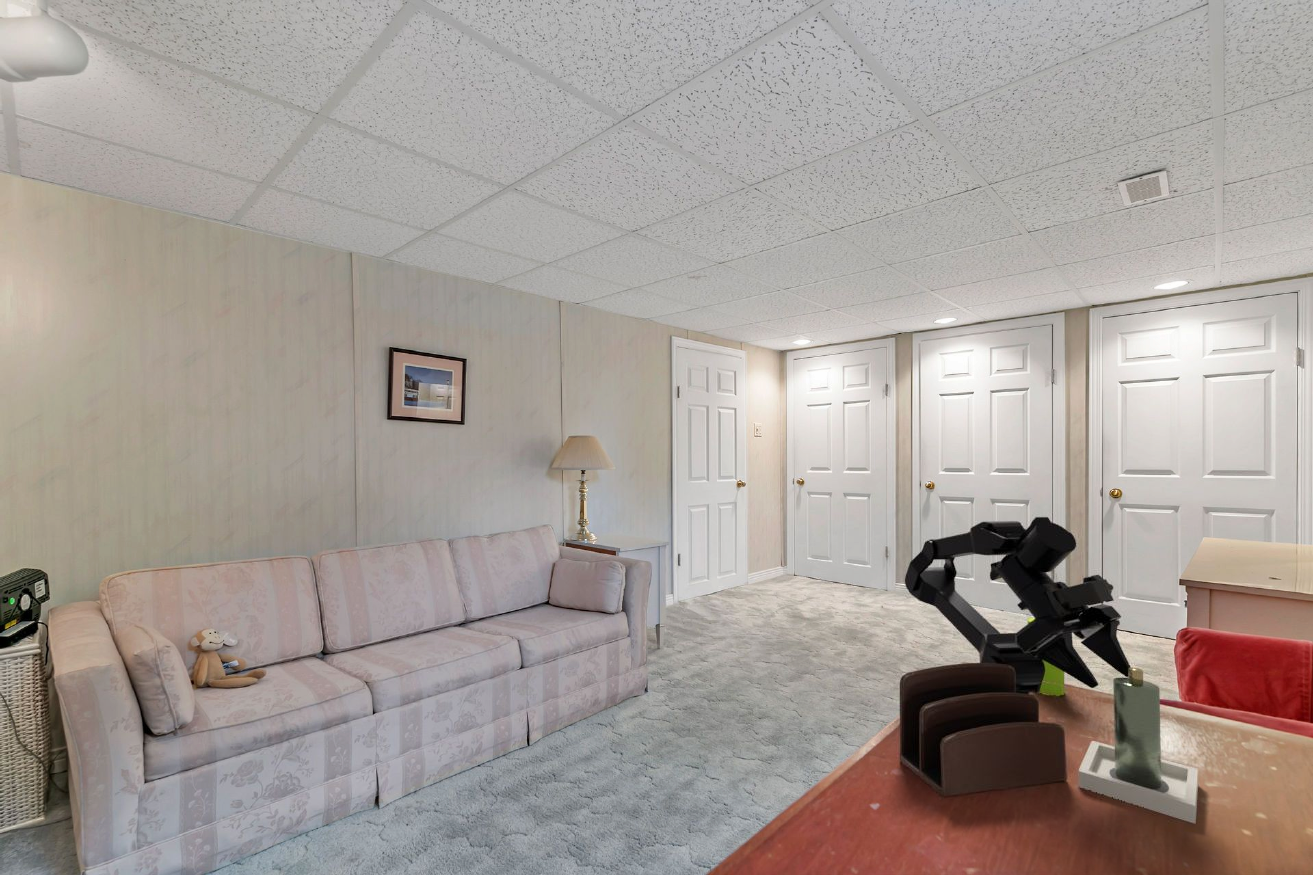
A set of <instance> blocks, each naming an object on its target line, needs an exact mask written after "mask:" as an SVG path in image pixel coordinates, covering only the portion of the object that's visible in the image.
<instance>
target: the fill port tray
mask: <svg viewBox="0 0 1313 875" xmlns="http://www.w3.org/2000/svg"><path fill="white" fill-rule="evenodd" d="M1077 773H1078V776H1077V777H1078V781H1077V782H1078V788H1080V789H1083V788H1084V789H1083V790H1086V791H1089V790H1091V791H1090V792H1093V793H1096V792H1097V794H1099V795H1102V794H1104V795H1103V796H1105V795H1106V796H1105V797H1109V798H1112V797H1113V798H1112V799H1115V800H1118V799H1119V800H1118V801H1121V800H1122V801H1121V802H1124V801H1125V803H1128V804H1131V803H1132V804H1131V805H1134V806H1137V805H1138V806H1137V807H1140V808H1143V807H1144V809H1146V810H1150V811H1153V812H1157V813H1160V814H1163V815H1166V816H1168V817H1169V816H1170V817H1172V818H1175V819H1180V820H1182V821H1185V822H1188V823H1191V824H1195V825H1196V823H1197V822H1196V820H1197V811H1198V810H1197V808H1198V807H1197V806H1198V796H1199V795H1198V792H1199V769H1198V768H1196V767H1192V766H1187V765H1184V764H1180V763H1177V762H1173V761H1169V760H1165V759H1163V758H1161V788H1159V789H1148V788H1145V787H1142V786H1138V785H1135V784H1131V783H1128V782H1125V781H1122V780H1120V779H1119V778H1118V777H1117V776H1116V775H1115V745H1110V744H1107V743H1102V742H1100V741H1099V742H1098V741H1094V740H1091V741H1090V745H1089V746H1088V749H1087V751H1086V753H1085V755H1084V758H1083V759H1082V761H1081V764H1080V766H1079V769H1078V772H1077Z"/></svg>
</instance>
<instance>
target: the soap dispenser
mask: <svg viewBox="0 0 1313 875" xmlns="http://www.w3.org/2000/svg"><path fill="white" fill-rule="evenodd" d="M1034 619H1035V618H1034V617H1031V618H1028V619H1027V624H1029V623H1030V622H1031V621H1033V620H1034ZM1035 651H1036V650H1035ZM1043 662H1044V665H1045V675H1044V678H1043V681H1045V682H1042V684H1041V688H1040V691H1039V692H1040V693H1046V694H1049V695H1056V696H1055V697H1061V696H1060V695H1062V696H1063V695H1065V672H1064V671H1062V670H1060V669H1059V668H1057V667H1055V666H1053V665H1051V664H1049V663H1048V662H1046V661H1044V660H1043ZM1046 682H1050V683H1046ZM1052 683H1056V684H1052ZM1057 684H1061V685H1064V686H1060V685H1057ZM1040 693H1039V694H1040ZM1049 695H1048V696H1049Z"/></svg>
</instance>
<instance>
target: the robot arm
mask: <svg viewBox="0 0 1313 875" xmlns="http://www.w3.org/2000/svg"><path fill="white" fill-rule="evenodd" d="M1076 548H1077V540H1076V537H1075V536H1074V535H1073V533H1071V532H1070V531H1068V530H1067V529H1066V528H1064V527H1063V526H1061V525H1059V524H1058V523H1054V522H1053V521H1051V520H1050V518H1049V517H1048V516H1035V517H1034V518H1033V520H1032V521H1031V523H1030V525H1029V526H1028V527H1027V528H1024V526H1023V525H1022V523H1021V522H1020V521H1018V520H1014V521H1013V520H1011V521H1010V520H1009V521H1008V520H1006V521H1005V520H1003V521H1002V520H998V521H981V522H979V523H977V524H975V525H973V526H972V527H970V530H969V531H968V532H965V533H962V534H961V533H960V534H955V535H950V536H945V537H941V538H932V539H928V540H926V541H925V542H924V543H923V546H922V549H921V551H920V552H919V553H918V554H917V555H916V556H914V557H913V559H912V560H911V561H910V562H909V565H908V567H907V570H906V574H905V575H904V576H905V577H904V585H905V588H906V589H907V591H908V593H909V594H910V595H911V596H912V597H914V598H915V599H917V600H918V601H919V602H922V603H924V604H927V605H930V606H933V607H935V608H936V609H937V610H938V611H939V612H940V613H941V614H942V615H943V616H944V618H946V619H947V620H948V622H950V624H952V626H953V627H954V628H955V629H956V630H957V631H958V632H959V633H960V634H961V635H962V636H963V637H964V638H965V639H966V640H967V641H968V643H970V645H972V646H973V648H974V649H975V650H976V651H977V652H978V653H979V663H996V664H1006V665H1010V666H1012V667H1013V668H1014V669H1015V673H1016V690H1015V692H1016V693H1021V694H1030V693H1035V694H1040V693H1039V691H1040V688H1041V684H1042V681H1043V678H1044V675H1045V665H1044V662H1043V660H1044V661H1046V662H1048V663H1049V664H1051V665H1053V666H1055V667H1057V668H1059V669H1060V670H1062V671H1064V674H1065V673H1066V674H1067V675H1069V676H1070V677H1072V678H1074V679H1075V680H1077V681H1079V682H1081V683H1082V684H1084V685H1086V686H1087V687H1089V688H1091V689H1094V688H1096V687H1098V686H1099V682H1098V680H1097V679H1096V677H1095V676H1094V674H1093V672H1092V671H1091V669H1090V668H1089V667H1088V666H1087V663H1085V661H1084V660H1083V659H1082V657H1081V656H1080V654H1079V653H1078V652H1077V650H1076V649H1075V647H1074V643H1073V635H1074V636H1075V637H1076V638H1078V639H1080V640H1082V641H1080V643H1081V644H1082V645H1083V646H1084V647H1086V648H1087V649H1088V650H1090V652H1092V653H1093V654H1095V655H1096V656H1098V658H1100V659H1101V660H1102V661H1104V662H1106V663H1107V664H1108V665H1109V666H1110V667H1112V668H1113V669H1114V670H1116V671H1117V673H1118V672H1119V673H1120V674H1121V675H1123V676H1124V677H1125V678H1129V675H1128V668H1132V667H1131V665H1130V663H1129V660H1128V659H1127V657H1126V655H1125V652H1124V651H1123V649H1122V648H1123V647H1122V646H1121V644H1120V642H1119V639H1118V637H1117V632H1118V627H1119V626H1120V624H1121V622H1120V619H1121V618H1122V616H1121V614H1120V613H1119V612H1118V610H1116V608H1115V607H1113V605H1108V604H1103V603H1109V602H1114V601H1115V600H1114V598H1113V595H1112V592H1113V590H1114V586H1113V584H1110V583H1109V582H1108V580H1107V579H1104V578H1103V577H1102V576H1101V575H1100V574H1094V575H1091V576H1087V577H1083V580H1082V583H1079V584H1076V585H1072V586H1068V585H1067V584H1066V583H1065V582H1064V581H1063V582H1062V581H1054V580H1053V579H1052V578H1051V577H1050V576H1049V575H1048V573H1051V572H1052V571H1054V570H1055V569H1057V567H1058V566H1060V564H1061V563H1063V561H1064V560H1065V559H1066V558H1067V557H1068V556H1069V555H1070V554H1071V553H1072V552H1073V551H1074V550H1075V549H1076ZM973 555H980V556H981V555H982V556H1003V557H1002V559H1001V560H999V561H996V562H992V563H990V572H989V580H991V581H997V580H999V579H1002V580H1003V581H1004V582H1005V584H1007V586H1008V587H1009V589H1010V590H1011V591H1012V592H1013V593H1014V594H1015V596H1016V597H1017V598H1018V599H1019V603H1017V607H1018V609H1020V610H1021V611H1025V610H1027V611H1029V613H1030V614H1031V615H1032V616H1033V618H1035V619H1034V620H1033V621H1031V622H1030V623H1029V624H1028V623H1027V624H1026V625H1025V626H1023V627H1022V628H1020V630H1018V631H1017V632H1008V633H1007V632H1005V633H1003V632H1000V631H998V629H996V628H995V626H993V624H991V623H990V622H989V621H988V620H987V619H986V618H985V617H984V616H983V615H981V614H980V612H979V611H977V610H976V609H975V608H974V607H973V606H972V605H971V604H970V603H969V602H968V601H967V600H966V599H964V598H963V596H961V595H960V594H959V593H958V591H957V590H956V580H955V579H956V576H957V574H958V573H957V572H958V571H957V569H956V565H955V562H954V560H955V558H958V557H965V556H973ZM935 560H936V561H937V560H938V561H939V560H942V561H943V560H944V565H943V567H939V566H937V567H936V566H935V567H930V566H931V565H932V564H933V562H934V561H935ZM1089 606H1090V607H1089ZM1035 650H1036V651H1035ZM1030 695H1031V694H1030Z"/></svg>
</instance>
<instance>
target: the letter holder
mask: <svg viewBox="0 0 1313 875" xmlns="http://www.w3.org/2000/svg"><path fill="white" fill-rule="evenodd" d="M1015 690H1016V673H1015V669H1014V668H1013V667H1012V666H1010V665H1006V664H996V663H980V662H966V663H956V664H955V663H954V664H947V665H946V664H945V665H940V666H939V665H938V666H935V667H927V668H922V669H918V670H914V671H909V672H907V673H905V674H903V675H902V676H901V677H900V681H899V761H900V762H901V764H903V765H904V766H905V767H907V768H908V769H909V770H910V771H911V772H912V773H914V774H915V775H916V776H917V777H918V778H919V779H921V781H923V783H926V785H928V786H929V787H930V788H931V789H933V790H934V791H935V792H936V793H938V794H939V795H940V797H942V798H945V797H952V796H961V795H970V794H976V793H984V792H985V793H986V792H992V791H1000V790H1006V789H1007V790H1008V789H1015V788H1023V787H1030V786H1038V785H1045V784H1053V783H1060V782H1061V783H1062V782H1066V781H1067V780H1068V772H1067V758H1066V757H1067V756H1066V754H1067V752H1066V734H1065V733H1066V732H1065V729H1064V727H1063V726H1062V725H1061V724H1057V723H1055V722H1046V721H1045V722H1043V721H1040V715H1039V714H1040V709H1039V708H1040V700H1039V699H1038V697H1037V696H1036V695H1033V694H1021V693H1016V692H1015Z"/></svg>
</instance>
